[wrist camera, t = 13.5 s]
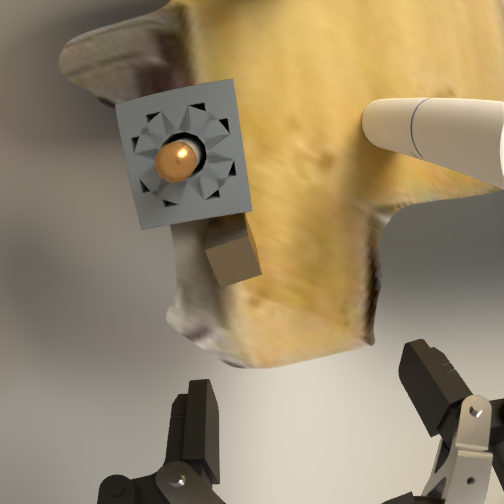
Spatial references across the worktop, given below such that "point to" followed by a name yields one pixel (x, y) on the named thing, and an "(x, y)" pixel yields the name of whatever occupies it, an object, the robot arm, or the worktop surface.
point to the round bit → (178, 159)
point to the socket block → (198, 183)
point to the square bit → (232, 250)
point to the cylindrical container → (442, 133)
